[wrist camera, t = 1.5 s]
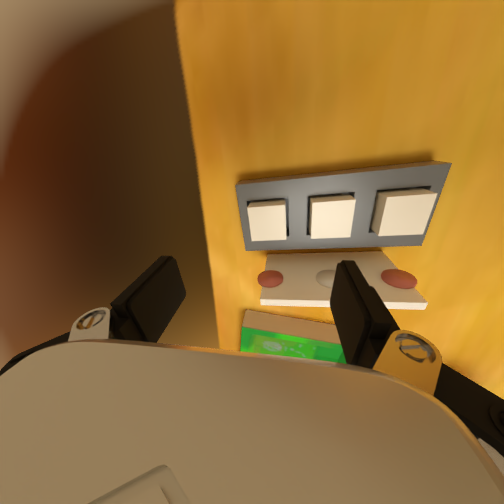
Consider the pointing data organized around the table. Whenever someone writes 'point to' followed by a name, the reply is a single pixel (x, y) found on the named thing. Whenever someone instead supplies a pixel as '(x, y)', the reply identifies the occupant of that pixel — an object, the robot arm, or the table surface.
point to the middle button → (331, 216)
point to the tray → (290, 337)
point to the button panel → (324, 264)
